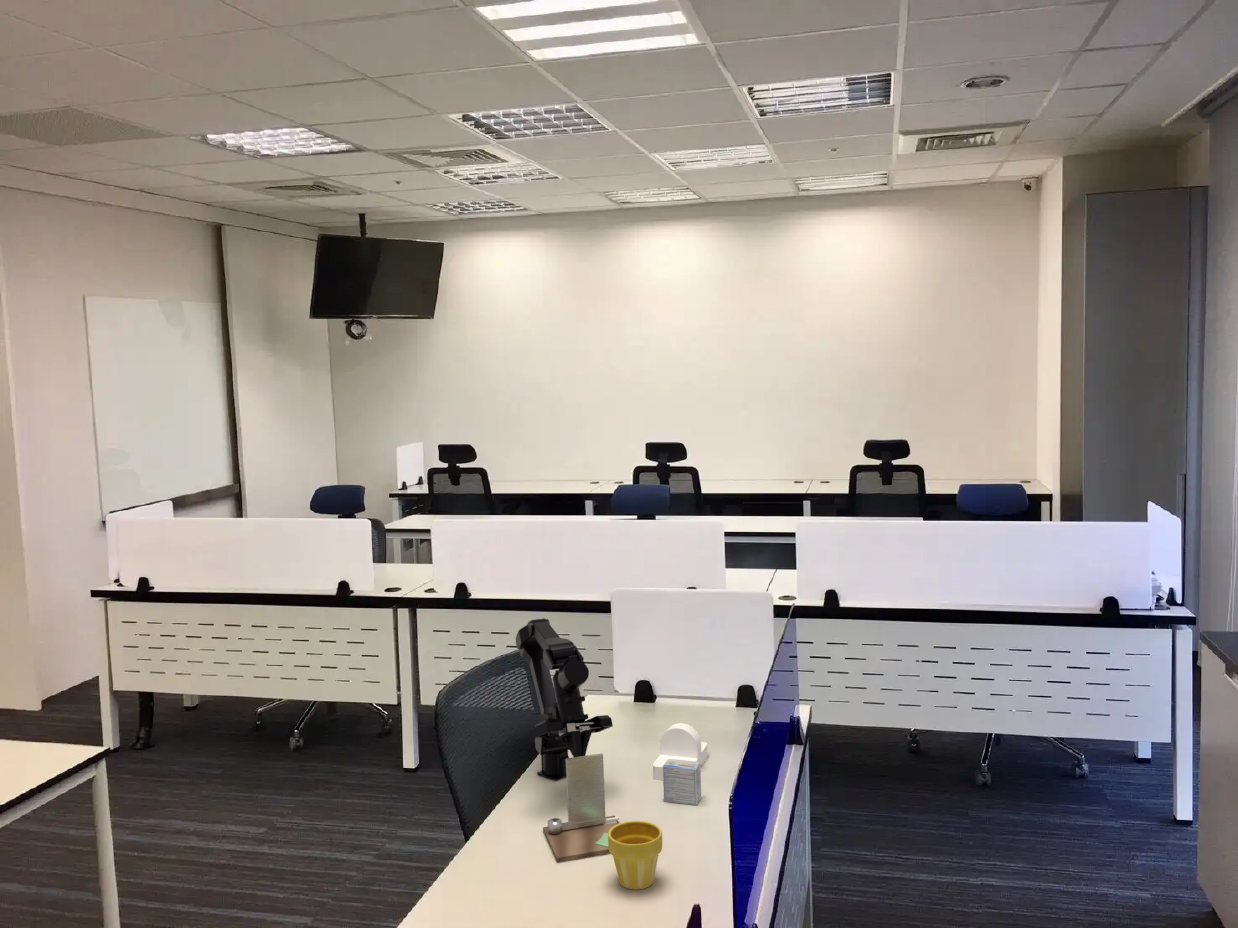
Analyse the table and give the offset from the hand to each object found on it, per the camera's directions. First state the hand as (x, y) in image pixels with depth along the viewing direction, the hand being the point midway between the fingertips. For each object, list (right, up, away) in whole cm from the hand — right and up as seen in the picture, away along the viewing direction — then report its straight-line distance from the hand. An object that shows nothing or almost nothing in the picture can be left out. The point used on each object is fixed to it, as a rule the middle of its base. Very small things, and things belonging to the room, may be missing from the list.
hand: (580, 764), depth 214 cm
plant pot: (+12, -13, -30) cm, 35 cm away
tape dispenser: (+24, -8, +23) cm, 34 cm away
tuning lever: (+1, -10, -10) cm, 14 cm away
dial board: (+2, -12, -14) cm, 18 cm away
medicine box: (+23, -10, +4) cm, 25 cm away
